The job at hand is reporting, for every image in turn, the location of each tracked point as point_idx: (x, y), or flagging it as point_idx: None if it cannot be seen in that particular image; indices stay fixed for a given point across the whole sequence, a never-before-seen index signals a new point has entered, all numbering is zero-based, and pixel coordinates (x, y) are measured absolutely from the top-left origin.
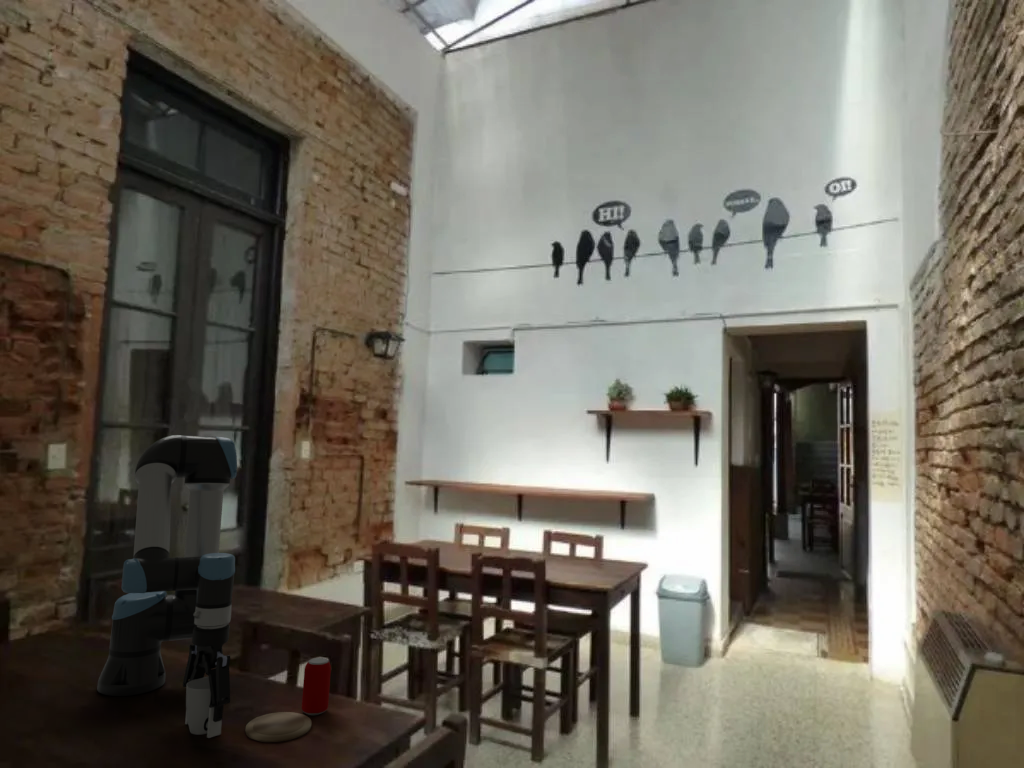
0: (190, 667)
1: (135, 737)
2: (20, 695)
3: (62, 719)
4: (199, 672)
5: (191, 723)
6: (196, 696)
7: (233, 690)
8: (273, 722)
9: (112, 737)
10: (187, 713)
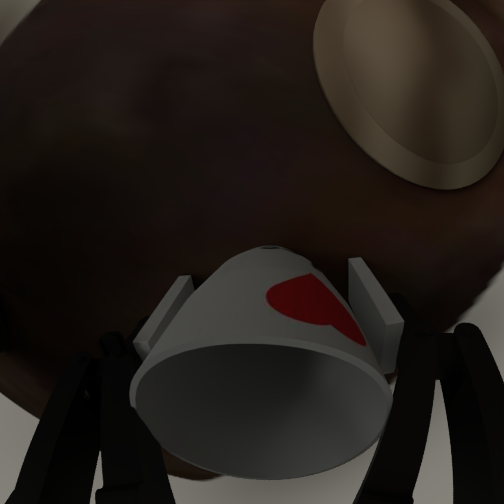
0: (90, 470)
1: None
2: (13, 398)
3: None
4: (157, 472)
5: (290, 352)
6: (326, 441)
7: (21, 103)
8: (413, 73)
9: None
10: (266, 381)
